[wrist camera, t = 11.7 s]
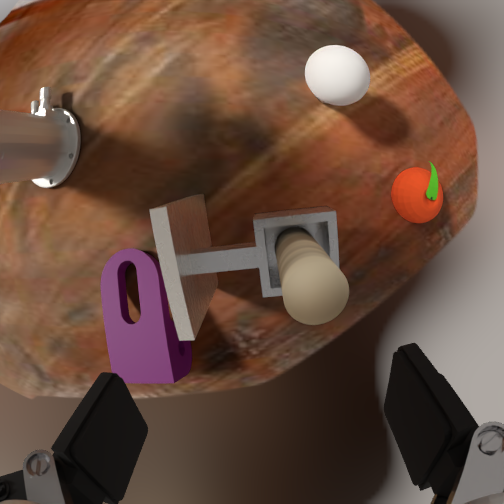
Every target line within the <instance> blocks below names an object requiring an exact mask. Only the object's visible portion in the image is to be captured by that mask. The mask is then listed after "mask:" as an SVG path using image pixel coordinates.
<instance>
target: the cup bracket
mask: <svg viewBox="0 0 504 504" xmlns="http://www.w3.org/2000/svg"><path fill="white" fill-rule="evenodd" d="M149 211H150V217H151V222H152V227H153V233H154V238H155V243H156V248H157V253H158V257H159V262H160V267H161V271H162V275H163V280H164V284H165V288H166V292H167V296H168V300H169V304H170V308H171V312H172V316H173V320H174V323H175V327H176V331H177V334H178V338H179V341H186V340H195V338H196V336H197V334H198V331H199V329H200V326H201V324H202V322H203V319H204V317H205V314H206V312H207V310H208V307H209V305H210V302H211V300H212V298H213V295H214V293H215V291H216V288H217V286H218V278H217V272H222V271H232V270H242V269H251V268H259V270H260V278H261V286H262V294H263V298H264V297H273V296H283V294H282V288H281V283H280V277H279V271H278V265H277V260H276V254H275V241H276V239H277V237H278V235H279V234H280V233H281V232H282V231H284V230H285V229H287V228H290V227H300V228H303V229H305V230H307V231H308V232H309V233H310V234H311V235H312V236H313V238H314V239H315V240H316V241H317V242H318V244H319V245H320V246H321V247H322V248H323V250H324V251H325V252H326V253H327V254H328V256H329V257H330V258H331V259H332V261H333V262H334V263H335V264H336V266H337V267H338V268H339V250H338V232H337V218H336V211H335V210H333V209H331V208H330V207H328V206H320V207H310V208H300V209H291V210H282V211H273V212H265V213H256V214H255V215H254V218H253V224H254V232H255V240H256V242H249V243H240V244H232V245H223V246H215V247H212V243H211V237H210V231H209V225H208V218H207V212H206V205H205V199H204V194H198V195H192V196H189V197H186V198H183V199H179V200H176V201H173V202H170V203H167V204H164V205H161V206H158V207H156V208H153V209H150V210H149Z"/></svg>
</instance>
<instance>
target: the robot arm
mask: <svg viewBox="0 0 504 504" xmlns="http://www.w3.org/2000/svg"><path fill="white" fill-rule="evenodd" d="M50 99H51V87H44V88H42V89H41V90H40V107H39V101H33V102H31V114H30V113H23V112H15V111H7V110H0V184H4V183H11V182H18V181H25V180H32V181H33V182H34V183H35V184H36V185H38V186H40V187H43V188H50V187H55V186H57V185H59V184H61V183H62V182H63V181H65V180H66V179H67V178H68V176H69V175H70V174H71V172H72V170H73V169H74V167H75V164H76V162H77V159H78V156H79V152H80V145H81V134H80V128H79V125H78V122H77V120H76V118H75V116H74V115H73V114H72V113H71V112H69V111H68V110H66V109H62V108H53V106H52V105H50ZM384 412H385V416H386V418H387V420H388V423H389V425H390V428H391V430H392V432H393V435H394V437H395V440H396V442H397V444H398V447H399V449H400V452H401V454H402V457H403V459H404V462H405V464H406V467H407V470H408V472H409V475H410V477H411V480H412V482H413V484H414V485H415V486H416V485H418V486H419V488H420V491H421V490H424V489H426V488H429V487H432V490H433V492H434V494H435V495H434V497H433V499H432V501H431V504H504V424H502V423H499V422H488V423H484V424H483V425H481V426H478V424H477V423H476V421H475V420H474V418H473V417H472V415H471V414H470V412H469V411H468V410H467V408H466V407H465V405H464V404H463V402H462V401H461V400H460V398H459V397H458V395H457V394H456V392H455V391H454V390H453V388H452V387H451V385H450V384H449V383H448V381H446V379H445V377H444V376H443V375H442V374H440V373H438V372H437V370H436V369H435V368H434V366H433V365H432V363H431V362H430V361H429V360H428V358H427V357H426V356H425V355H424V353H423V352H422V350H421V349H420V348H419V346H418V345H417V344H416V343H411V344H408V345H404V346H400V347H399V348H398V350H397V352H395V353H394V354H393V360H392V366H391V373H390V378H389V383H388V388H387V394H386V399H385V403H384ZM147 433H148V427H147V424H146V422H145V421H144V419H143V417H142V415H141V413H140V412H139V410H138V408H137V406H136V404H135V402H134V400H133V398H132V396H131V394H130V392H129V390H128V388H127V386H126V384H125V382H124V380H123V379H122V378H121V377H119V375H118V374H117V373H107V372H103V373H101V374H100V375H99V376H98V378H97V379H96V381H95V382H94V384H93V385H92V387H91V388H90V389H89V391H88V392H87V394H86V395H85V397H84V398H83V400H82V402H81V403H80V404H79V406H78V407H77V409H76V410H75V412H74V413H73V415H72V416H71V418H70V419H69V421H68V422H67V424H66V425H65V427H64V429H63V430H62V432H61V433H60V435H59V437H58V438H57V440H56V441H55V443H54V444H53V446H52V448H51V449H52V450H53V451H54V454H53V455H51V453H50V452H48V451H46V450H35V451H33V452H31V453H30V454H29V455H28V456H27V457H26V458H25V460H24V463H23V470H20V471H17V472H14V473H11V474H7V475H4V476H1V477H0V504H102V503H103V501H104V502H105V503H108V504H118V502H119V501H120V500H122V499H123V497H124V495H125V492H126V489H127V487H128V484H129V481H130V478H131V476H132V473H133V470H134V467H135V465H136V462H137V460H138V457H139V454H140V452H141V449H142V446H143V444H144V441H145V439H146V436H147Z"/></svg>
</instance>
